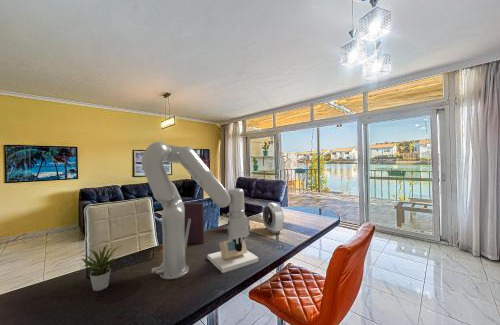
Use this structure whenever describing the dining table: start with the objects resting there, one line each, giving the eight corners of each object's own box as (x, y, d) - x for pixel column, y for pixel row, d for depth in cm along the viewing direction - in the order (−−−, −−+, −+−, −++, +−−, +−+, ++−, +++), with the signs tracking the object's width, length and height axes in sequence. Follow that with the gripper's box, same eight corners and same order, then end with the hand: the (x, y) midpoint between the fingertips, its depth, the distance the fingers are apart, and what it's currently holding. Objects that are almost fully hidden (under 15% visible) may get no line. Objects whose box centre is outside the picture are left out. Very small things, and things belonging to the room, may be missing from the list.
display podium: (222, 273, 99) (222, 268, 99) (207, 258, 114) (207, 254, 114) (258, 261, 110) (258, 257, 110) (240, 249, 125) (240, 246, 125)
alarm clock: (262, 228, 163) (261, 201, 163) (271, 226, 167) (271, 200, 167) (274, 235, 147) (274, 205, 147) (285, 233, 151) (284, 204, 150)
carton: (221, 259, 108) (226, 258, 105) (219, 242, 111) (223, 241, 107) (242, 253, 115) (247, 252, 111) (239, 237, 118) (244, 236, 114)
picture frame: (204, 243, 136) (203, 202, 135) (198, 249, 126) (198, 206, 126) (178, 242, 137) (177, 202, 137) (171, 248, 127) (170, 205, 127)
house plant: (116, 272, 100) (115, 237, 100) (129, 283, 91) (128, 244, 91) (77, 287, 89) (77, 247, 89) (87, 300, 80) (87, 256, 80)
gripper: (226, 218, 101) (228, 257, 101) (253, 212, 109) (255, 249, 109) (220, 214, 107) (221, 252, 107) (246, 210, 115) (247, 244, 115)
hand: (238, 250), depth 108 cm, fingers closed
